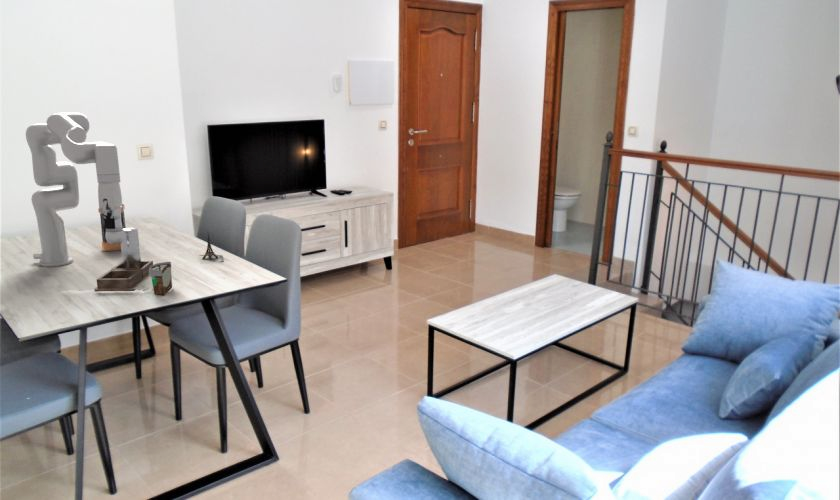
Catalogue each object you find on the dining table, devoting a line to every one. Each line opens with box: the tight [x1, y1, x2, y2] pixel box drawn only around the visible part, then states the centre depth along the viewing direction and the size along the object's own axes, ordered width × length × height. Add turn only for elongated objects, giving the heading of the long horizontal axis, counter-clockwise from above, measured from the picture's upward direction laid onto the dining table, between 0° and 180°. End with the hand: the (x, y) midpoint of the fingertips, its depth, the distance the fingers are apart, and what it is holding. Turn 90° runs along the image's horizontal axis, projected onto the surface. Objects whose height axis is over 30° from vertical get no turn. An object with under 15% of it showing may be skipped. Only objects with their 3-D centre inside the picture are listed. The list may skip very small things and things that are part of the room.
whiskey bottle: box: [98, 203, 127, 252], centre depth 292 cm, size 10×10×32 cm
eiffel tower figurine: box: [199, 232, 225, 263], centre depth 279 cm, size 15×10×13 cm
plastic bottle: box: [105, 200, 125, 244], centre depth 235 cm, size 6×7×20 cm
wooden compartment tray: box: [93, 260, 154, 292], centre depth 248 cm, size 14×26×4 cm, turn 4°
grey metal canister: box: [120, 227, 142, 269], centre depth 252 cm, size 7×7×18 cm
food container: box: [149, 261, 173, 297], centre depth 235 cm, size 12×6×10 cm, turn 5°
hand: (114, 226), depth 236 cm, fingers closed on plastic bottle, 5 cm apart
